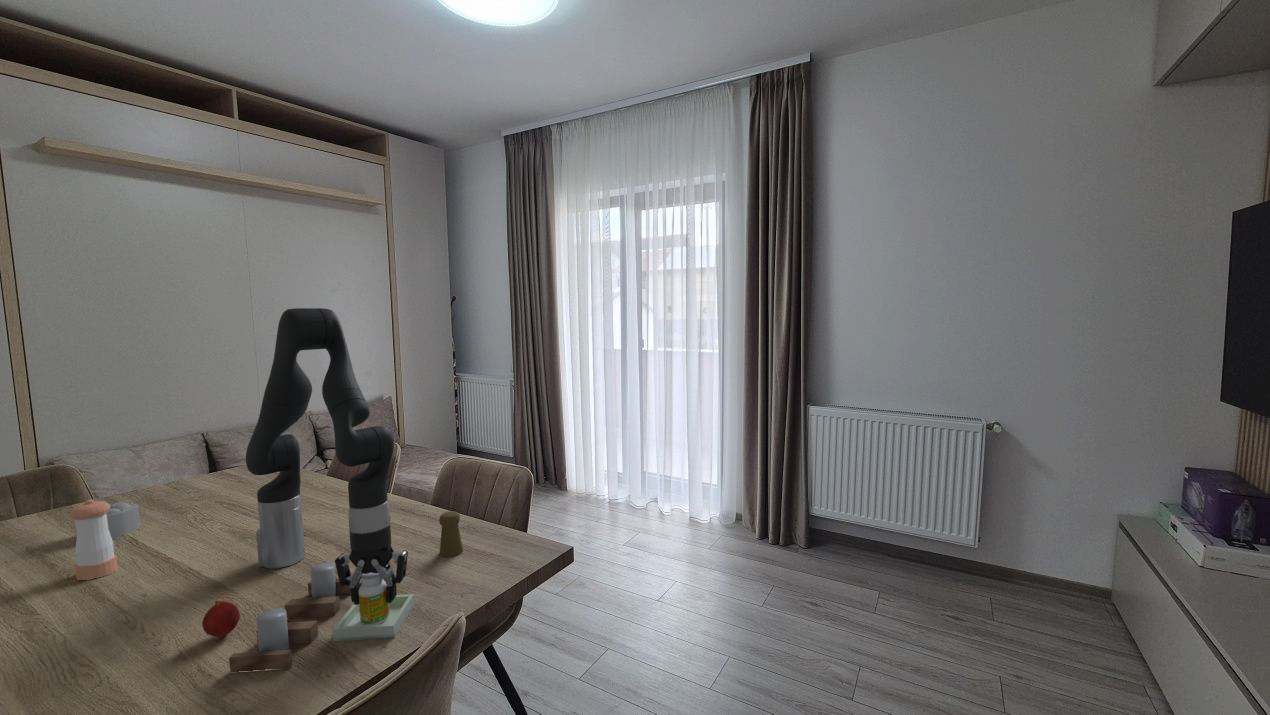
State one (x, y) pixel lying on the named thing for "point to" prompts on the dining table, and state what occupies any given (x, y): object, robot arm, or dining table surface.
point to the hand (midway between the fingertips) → (374, 601)
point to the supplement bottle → (373, 599)
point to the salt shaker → (93, 541)
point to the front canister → (273, 630)
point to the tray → (389, 628)
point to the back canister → (323, 580)
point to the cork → (450, 535)
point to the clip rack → (292, 631)
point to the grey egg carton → (122, 518)
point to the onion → (221, 619)
